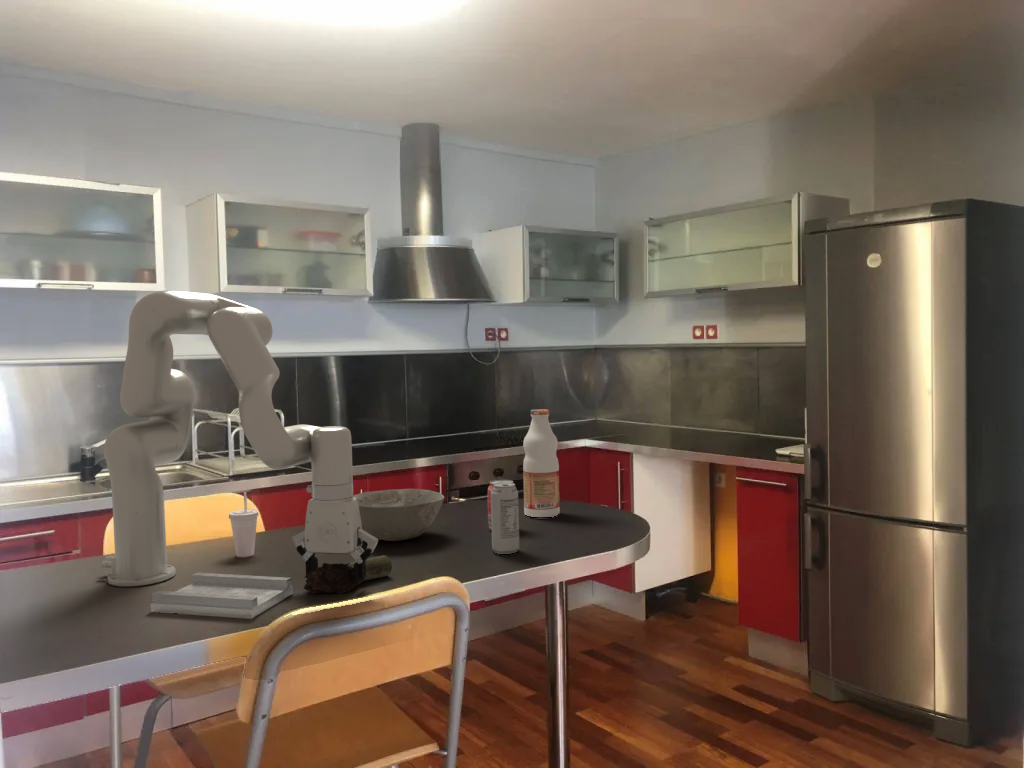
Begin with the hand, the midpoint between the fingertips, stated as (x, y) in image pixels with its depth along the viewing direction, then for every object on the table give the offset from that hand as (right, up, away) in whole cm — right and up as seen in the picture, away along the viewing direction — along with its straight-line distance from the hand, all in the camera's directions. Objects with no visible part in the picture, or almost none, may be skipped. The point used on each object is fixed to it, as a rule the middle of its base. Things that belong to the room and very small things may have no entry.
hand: (336, 581), depth 157 cm
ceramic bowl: (+6, 0, +40) cm, 40 cm away
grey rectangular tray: (-19, -2, -6) cm, 20 cm away
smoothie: (-26, -1, +27) cm, 38 cm away
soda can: (+31, +1, +46) cm, 55 cm away
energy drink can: (+32, 0, +25) cm, 41 cm away
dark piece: (+2, -2, +2) cm, 4 cm away
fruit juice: (+41, +3, +62) cm, 74 cm away
